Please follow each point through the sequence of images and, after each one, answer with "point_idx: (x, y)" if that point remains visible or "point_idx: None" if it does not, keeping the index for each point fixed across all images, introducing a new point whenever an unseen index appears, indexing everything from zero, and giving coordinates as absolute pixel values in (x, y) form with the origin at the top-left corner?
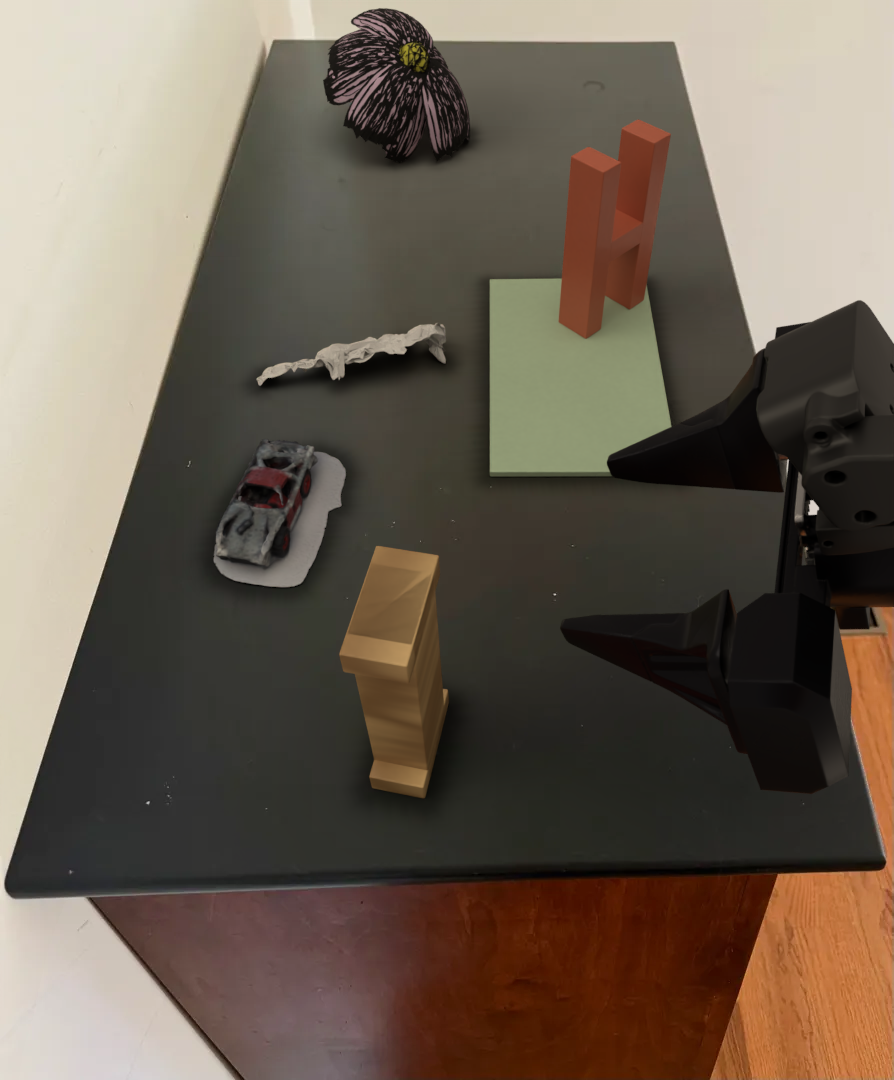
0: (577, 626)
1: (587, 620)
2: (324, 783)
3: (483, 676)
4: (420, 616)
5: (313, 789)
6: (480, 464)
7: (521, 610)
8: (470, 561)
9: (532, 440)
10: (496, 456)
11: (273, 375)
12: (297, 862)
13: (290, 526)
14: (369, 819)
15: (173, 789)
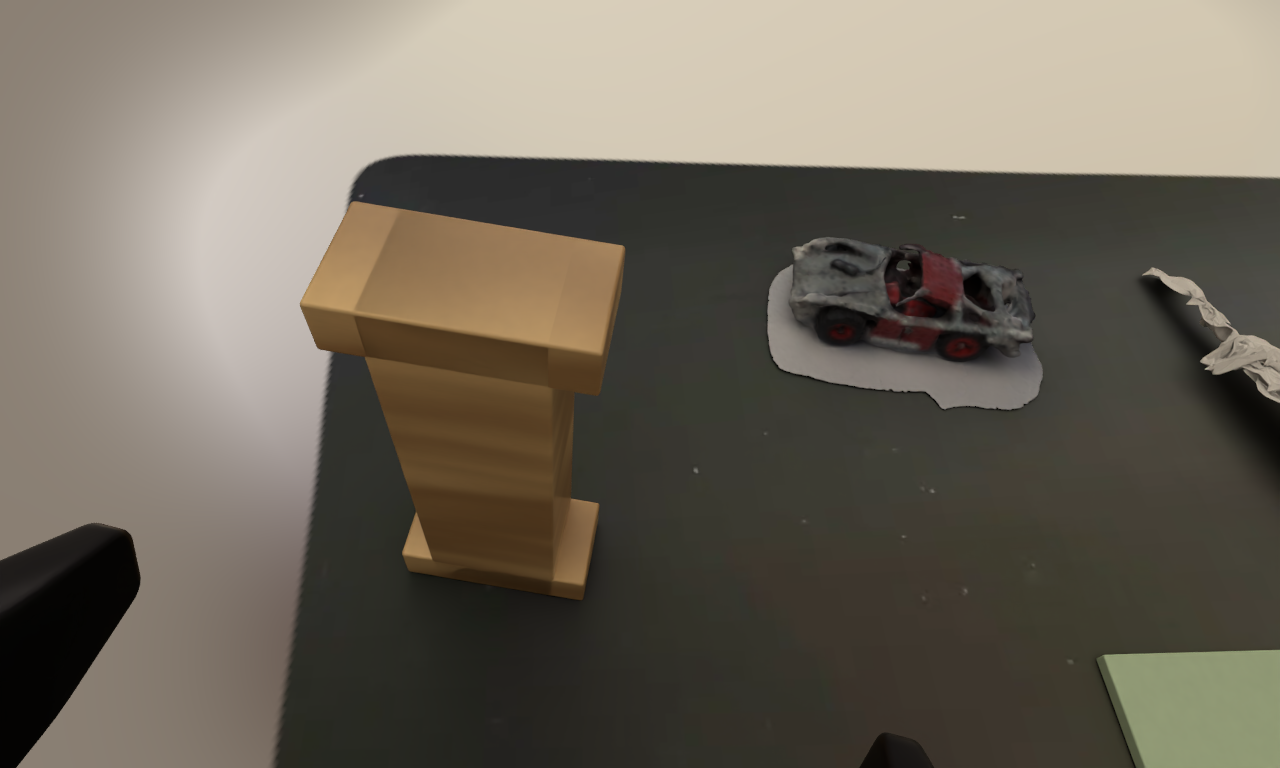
0: (26, 555)
1: (15, 581)
2: None
3: (635, 660)
4: (427, 323)
5: None
6: (1120, 638)
7: (786, 731)
8: (880, 627)
9: (1227, 748)
10: (1149, 667)
11: (1167, 282)
12: (334, 410)
13: (874, 336)
14: (385, 494)
15: None
